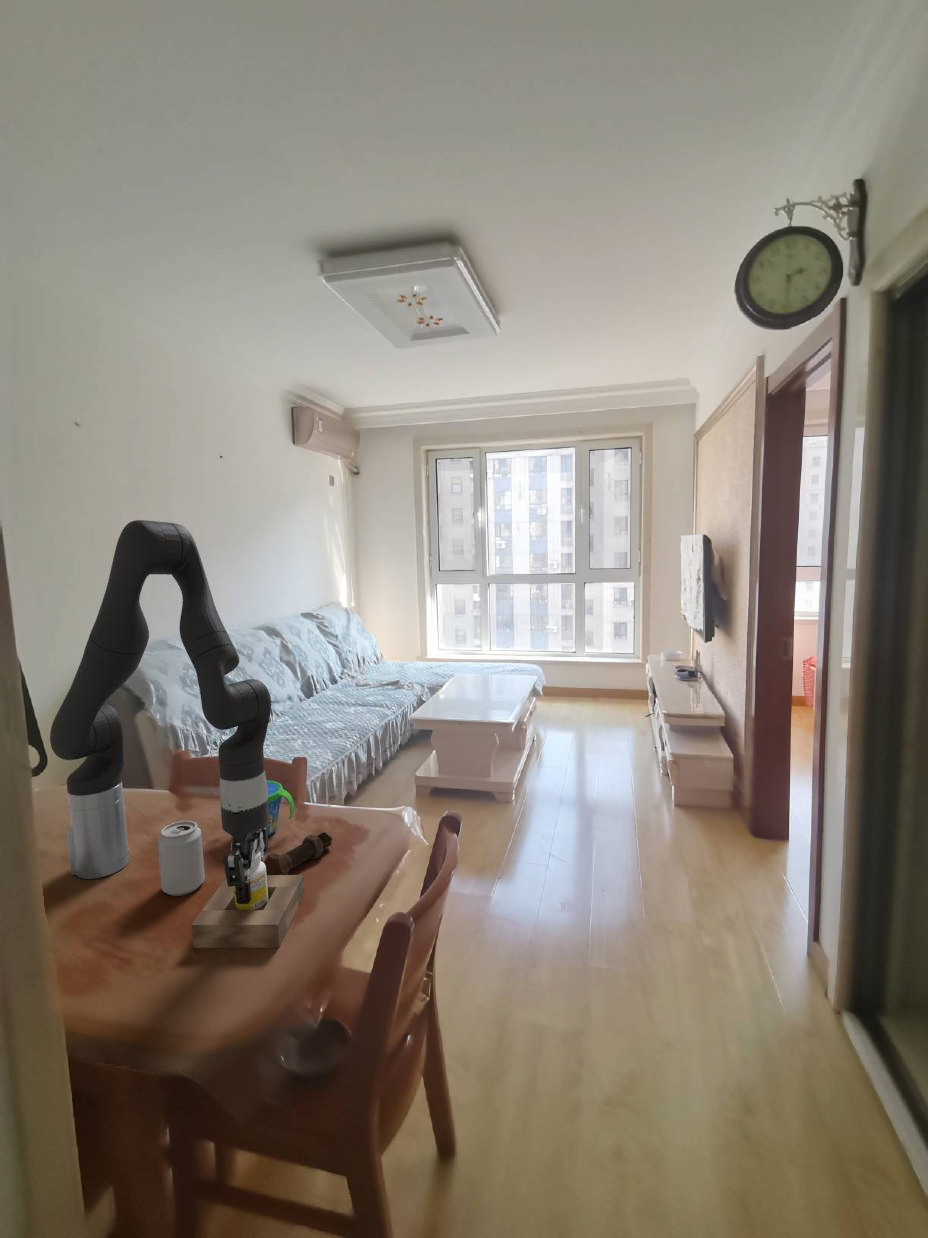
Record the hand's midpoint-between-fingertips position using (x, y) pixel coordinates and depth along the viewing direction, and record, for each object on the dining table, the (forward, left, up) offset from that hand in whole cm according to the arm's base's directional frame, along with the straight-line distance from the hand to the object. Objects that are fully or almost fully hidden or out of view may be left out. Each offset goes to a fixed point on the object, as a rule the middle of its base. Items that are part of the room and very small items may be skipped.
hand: (250, 891), depth 100 cm
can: (-17, +10, -5) cm, 20 cm away
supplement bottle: (0, 0, -3) cm, 3 cm away
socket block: (0, 0, -5) cm, 5 cm away
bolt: (+3, +18, -6) cm, 19 cm away
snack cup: (-10, +31, -5) cm, 33 cm away
